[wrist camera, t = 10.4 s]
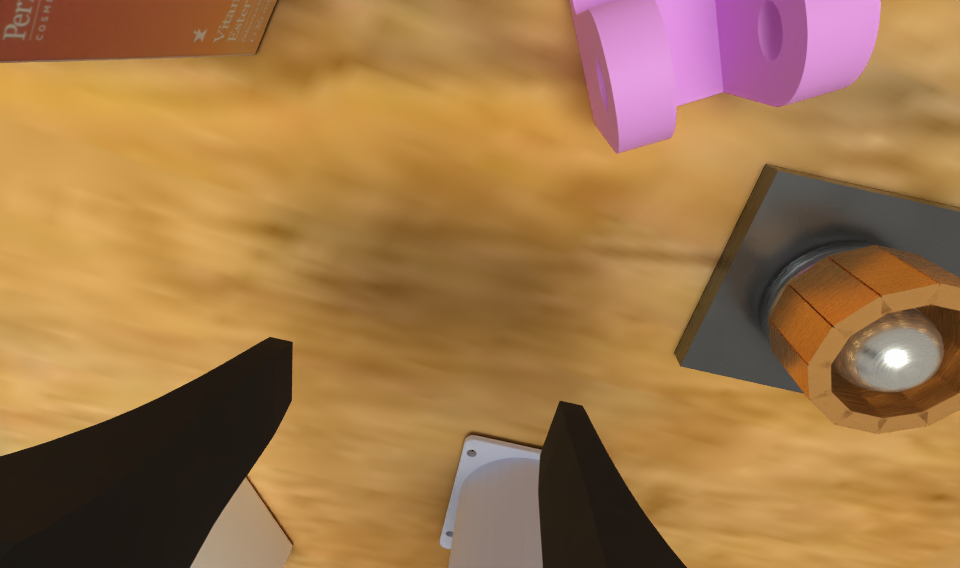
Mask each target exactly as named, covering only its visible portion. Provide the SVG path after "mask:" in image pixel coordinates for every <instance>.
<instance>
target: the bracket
mask: <svg viewBox="0 0 960 568" xmlns="http://www.w3.org/2000/svg"><path fill="white" fill-rule="evenodd" d="M569 2H570V7H571V12H572V17H573V22H574V27H575V31H576V36H577V41H578V46H579V51H580V56H581V61H582V65H583V70H584V75H585V80H586V85H587V90H588V94H589V99H590V104H591V109H592V114H593V119H594V123H595V125H596V127H597V128H598V129H599V131H600V132H601V133H602V135H603V136H604V138H605V139H606V140H607V142H608V143H609V144H610V146H611V147H612V148H613V150H614V151H615V152H616V153H621V152H624V151H628V150H631V149H635V148H638V147H642V146H645V145H649V144H652V143H655V142H659V141H662V140H666V139H669V138H671V137H672V135H673V133H674V130H675V125H676V106H679V105H683V104H686V103H689V102H693V101H696V100H699V99H703V98H706V97H709V96H712V95H716V94H719V93H722V92H725V93H729V94H732V95H736V96H739V97H743V98H746V99H750V100H753V101H757V102H760V103H764V104H767V105H771V106H775V107H781V106H784V105H787V104H791V103H794V102H798V101H801V100H805V99H808V98H812V97H815V96H819V95H822V94H826V93H829V92H833V91H836V90H840V89H843V88H845V87H847V86H849V85H850V84H852V83H853V82H854V81H855V80H856V79H857V78H858V77H859V76H860V74H861V73H862V72H863V70H864V68H865V67H866V65H867V63H868V61H869V59H870V56H871V54H872V51H873V48H874V45H875V42H876V37H877V33H878V27H879V21H880V8H881V0H569Z"/></svg>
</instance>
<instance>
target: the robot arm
mask: <svg viewBox="0 0 960 568" xmlns="http://www.w3.org/2000/svg"><path fill="white" fill-rule="evenodd" d="M292 346H293V342H290V341H286V340H281V339H277V338H272V337H269V338H267V339H265V340H264V341H262V342H260V343H258V344H257V345H255V346H253V347H251V348H250V349H248V350H246V351H245V352H243V353H241V354H239V355H238V356H236V357H234V358H233V359H231V360H229V361H227V362H226V363H224V364H222V365H220V366H219V367H217V368H215V369H213V370H211V371H210V372H208V373H206V374H204V375H202V376H201V377H199V378H197V379H195V380H193V381H191V382H189V383H187V384H185V385H183V386H181V387H179V388H177V389H175V390H173V391H171V392H169V393H167V394H165V395H164V396H162V397H160V398H158V399H155V400H153V401H151V402H149V403H147V404H145V405H142V406H140V407H138V408H136V409H133V410H131V411H129V412H126V413H124V414H121V415H119V416H117V417H114V418H112V419H110V420H107V421H104V422H102V423H99V424H97V425H94V426H91V427H88V428H86V429H83V430H80V431H77V432H74V433H72V434H69V435H66V436H63V437H61V438H58V439H55V440H52V441H49V442H46V443H43V444H40V445H37V446H34V447H30V448H27V449H24V450H21V451H18V452H14V453H11V454H7V455H4V456H0V568H190V567H191V565H192V563H193V561H194V560H195V558H196V556H197V554H198V552H199V551H200V549H201V547H202V545H203V543H204V542H205V540H206V538H207V536H208V534H209V533H210V531H211V529H212V527H213V526H214V524H215V522H216V521H217V519H218V518H219V516H220V514H221V513H222V511H223V510H224V508H225V507H226V505H227V504H228V502H229V501H230V499H231V498H232V496H233V495H234V493H235V492H236V491H237V489H238V488H239V486H240V485H241V483H242V482H243V480H244V479H245V477H246V476H247V474H248V473H249V472H250V470H251V469H252V467H253V466H254V464H255V463H256V461H257V460H258V458H259V457H260V455H261V454H262V452H263V451H264V449H265V448H266V447H267V445H268V444H269V442H270V441H271V439H272V437H273V436H274V434H275V433H276V431H277V429H278V427H279V425H280V423H281V421H282V419H283V417H284V415H285V413H286V411H287V409H288V407H289V405H290V403H291V401H292ZM470 450H474V451H470ZM440 545H441V546H442V547H443V548H446V549H451V552H450V558H449V565H448V568H687V567H686V566H685V565H684V564H683V562H682V561H681V560H680V559H679V558H678V556H677V555H676V554H675V553H674V552H673V550H672V549H671V548H670V547H669V545H668V544H667V543H666V541H665V540H664V539H663V538H662V536H661V535H660V534H659V532H658V531H657V530H656V528H655V527H654V526H653V524H652V523H651V522H650V520H649V519H648V517H647V516H646V515H645V513H644V512H643V510H642V509H641V507H640V506H639V504H638V503H637V501H636V500H635V498H634V497H633V495H632V493H631V492H630V490H629V489H628V487H627V486H626V484H625V482H624V481H623V479H622V477H621V476H620V474H619V472H618V470H617V469H616V467H615V465H614V464H613V462H612V460H611V458H610V457H609V455H608V453H607V451H606V449H605V448H604V446H603V444H602V442H601V440H600V438H599V436H598V434H597V432H596V430H595V429H594V427H593V425H592V423H591V421H590V419H589V417H588V415H587V413H586V411H585V409H584V408H583V406H581V405H577V404H572V403H568V402H563V401H560V402H559V404H558V407H557V410H556V413H555V415H554V418H553V421H552V424H551V426H550V429H549V432H548V434H547V437H546V440H545V443H544V445H543V448H542V450H540V449H536V448H531V447H527V446H522V445H518V444H513V443H508V442H504V441H499V440H495V439H490V438H486V437H481V436H476V435H471V436H468V437H467V438H466V439H465V442H464V446H463V450H462V454H461V458H460V462H459V466H458V469H457V473H456V477H455V481H454V485H453V489H452V493H451V497H450V501H449V505H448V509H447V513H446V517H445V521H444V525H443V528H442V532H441V536H440Z"/></svg>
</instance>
